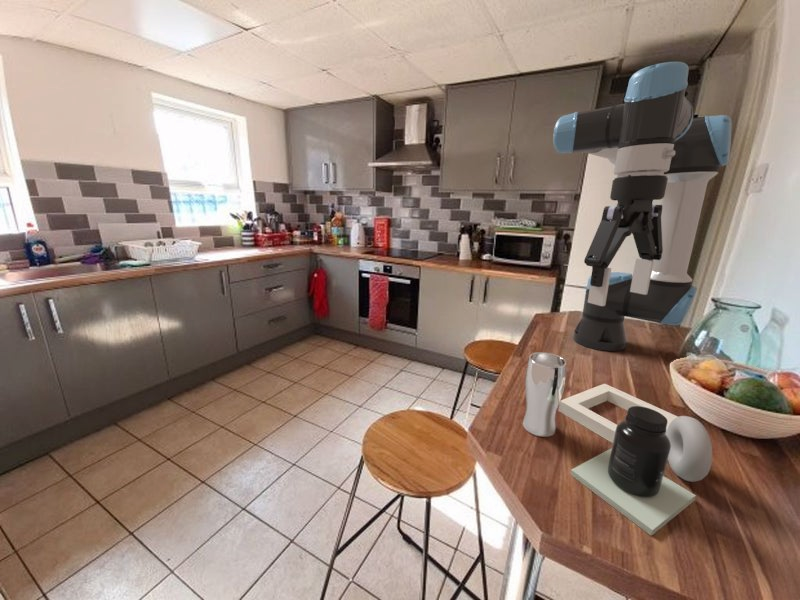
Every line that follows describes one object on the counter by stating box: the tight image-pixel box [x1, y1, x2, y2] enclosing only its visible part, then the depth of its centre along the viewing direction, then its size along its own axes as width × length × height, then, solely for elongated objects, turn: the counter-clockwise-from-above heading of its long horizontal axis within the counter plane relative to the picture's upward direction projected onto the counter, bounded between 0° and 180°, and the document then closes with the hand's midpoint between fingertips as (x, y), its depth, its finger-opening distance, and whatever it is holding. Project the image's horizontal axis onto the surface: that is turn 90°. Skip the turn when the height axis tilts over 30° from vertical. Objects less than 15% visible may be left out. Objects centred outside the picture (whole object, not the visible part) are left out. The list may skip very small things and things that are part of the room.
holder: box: [557, 383, 679, 444], centre depth 68 cm, size 16×16×2 cm
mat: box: [570, 447, 697, 537], centre depth 52 cm, size 12×12×1 cm
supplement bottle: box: [608, 406, 671, 497], centre depth 51 cm, size 7×7×12 cm
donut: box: [666, 415, 713, 482], centre depth 54 cm, size 10×4×10 cm, turn 159°
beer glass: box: [522, 351, 567, 438], centre depth 65 cm, size 7×7×15 cm
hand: (618, 298), depth 61 cm, fingers open, 13 cm apart
